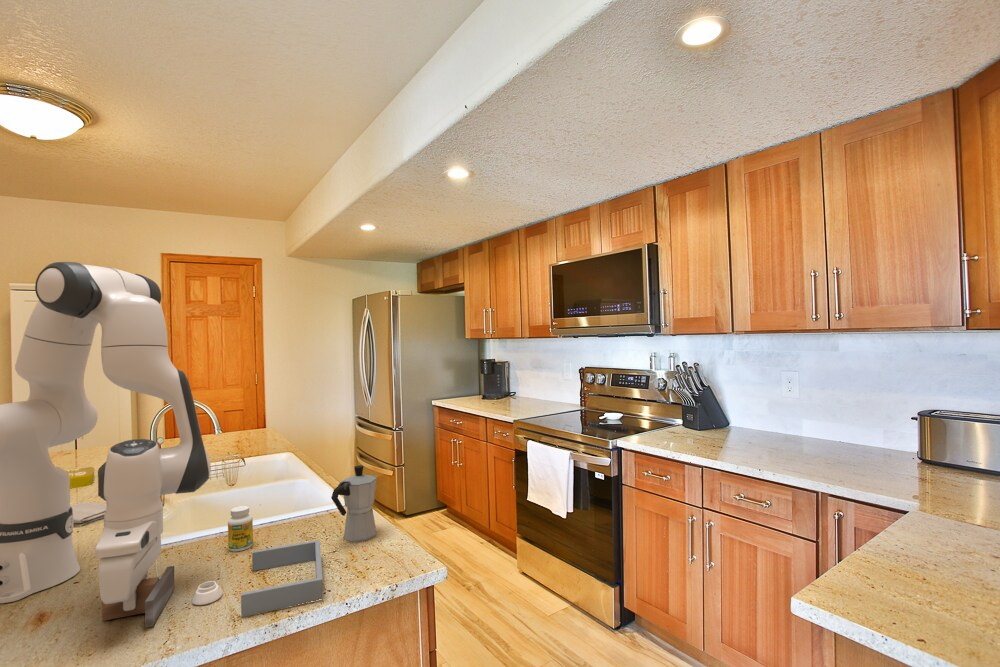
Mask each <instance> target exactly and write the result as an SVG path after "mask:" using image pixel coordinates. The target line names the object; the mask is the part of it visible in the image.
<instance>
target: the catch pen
mask: <svg viewBox="0 0 1000 667" xmlns="http://www.w3.org/2000/svg"><path fill="white" fill-rule="evenodd" d="M321 554H322V550H321V540H320V539H317V540H311V541H306V542H304V541H303V542H300V543H294V544H293V543H292V544H288V545H280V546H276V547H269V548H263V549H257V550H252V552H251V556H252V557H251V558H252V560H251V561H252V563H251V564H252V566H251V567H252V568H251V569H252V572H256V571H261V570H267V569H271V568H277V567H283V566H288V565H293V564H299V563H300V564H301V563H304V562H305V561H306V562H310V561H315V578H311V579H304V580H301V581H296V582H291V583H290V582H289V583H285V584H279V585H275V586H271V587H270V586H269V587H264V588H258V589H255V590H250V591H244V592H241V594H240V617H241V618H245V617H249V615H250V616H254V615H258V614H259V613H260V614H263V612H264V613H269V612H274V611H278V610H282V609H281V608H283V609H287V608H286V607H288V608H290V607H289V606H293V607H296V606H295V605H297V606H299V605H298V604H302V603H306V602H311V601H316V600H319V599H323V596H324V595H323V594H324V593H323V592H324V591H323V569H322V567H323V566H322V555H321ZM316 602H317V601H316ZM311 603H312V602H311ZM302 605H303V604H302ZM273 610H274V611H273ZM268 611H269V612H268ZM260 614H259V615H260Z"/></svg>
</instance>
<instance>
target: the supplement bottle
mask: <svg viewBox="0 0 1000 667" xmlns="http://www.w3.org/2000/svg"><path fill="white" fill-rule="evenodd" d="M230 516H231V517H230V518H229V519H228V521H227V537H228V538H227V541H228V545H227V546H228V550H229V551H230V552H234V553H235V552H242V551H246V550H248V549H250V548H251V547H252V546H253V545H254V527H253V525H254V523H253V522H254V521H253V516H252V515H251V514H250V507H249V505H248V506H247V505H240V506H236V507H232V508H231V509H230Z"/></svg>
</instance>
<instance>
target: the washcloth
mask: <svg viewBox="0 0 1000 667" xmlns="http://www.w3.org/2000/svg"><path fill="white" fill-rule="evenodd" d="M70 507H72V511H73V519H74V524H73V527H76V528H82V527H83V526H86V525H87V526H88V525H91V524H95V523H97V522H100V521H102V520H104V514H105V511H106V507H107V503H106V502H105V503H102V502H101V503H100V502H90V501H89V502H88V501H87V502H86V501H83V502H77V503H74V504H70Z"/></svg>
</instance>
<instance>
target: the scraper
mask: <svg viewBox="0 0 1000 667" xmlns="http://www.w3.org/2000/svg"><path fill="white" fill-rule="evenodd" d="M174 589H175V565H171V566H166V568H165V569H164V572H163V573H162V575H160V576H156V577H150V578H147V579H143V580H141V582H140V583H139V584H138V586H137V589H136V596H138V604H137V605H136V607H135V608H134V609H133V610H129V611H124V610H123V601H122V602H117V603H111V604H104V603H103V601H102V600H101V621H103V622H104V621H108V620H114V619H119V618H124V617H125V618H126V617H130V616H134V615H135V616H136V615H140V614H144V617H145V618H144V627H145V628H148V627H153V626H154V625H155V624H156V622H157V620H158V618H159V616H160V615H161V612H163V609H164V608H165V606H166V604H167V602H168V600H169V599H170V596H171V595H172V593H173V591H174Z"/></svg>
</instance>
